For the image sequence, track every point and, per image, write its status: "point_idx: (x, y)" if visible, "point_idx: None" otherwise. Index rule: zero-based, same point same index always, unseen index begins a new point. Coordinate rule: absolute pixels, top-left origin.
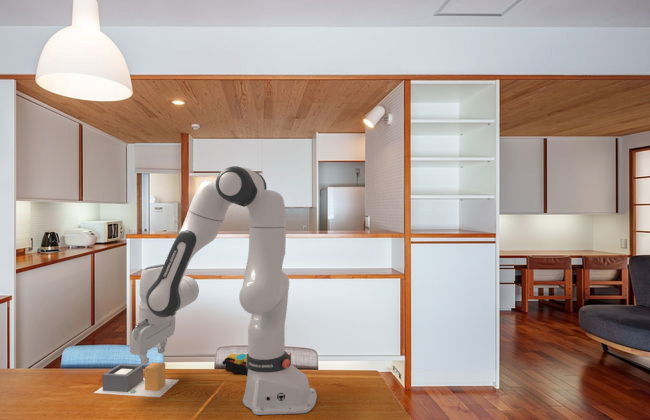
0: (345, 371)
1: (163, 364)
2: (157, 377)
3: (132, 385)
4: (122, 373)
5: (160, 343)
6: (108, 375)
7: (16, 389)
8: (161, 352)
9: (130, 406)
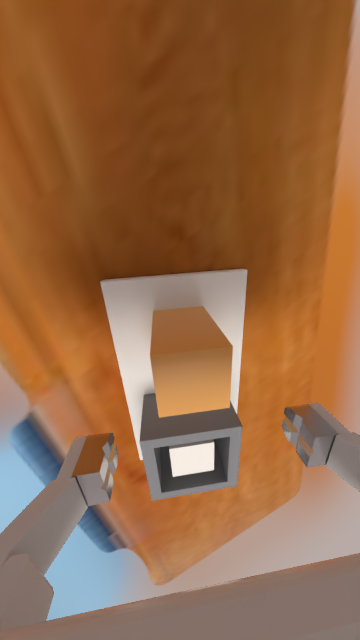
0: None
1: (171, 353)
2: (217, 327)
3: None
4: (208, 452)
5: (55, 549)
6: (237, 471)
7: (220, 537)
8: (110, 443)
9: (278, 330)
